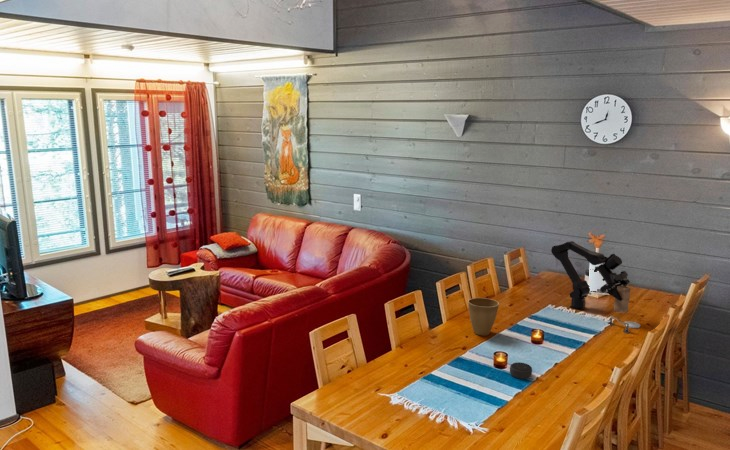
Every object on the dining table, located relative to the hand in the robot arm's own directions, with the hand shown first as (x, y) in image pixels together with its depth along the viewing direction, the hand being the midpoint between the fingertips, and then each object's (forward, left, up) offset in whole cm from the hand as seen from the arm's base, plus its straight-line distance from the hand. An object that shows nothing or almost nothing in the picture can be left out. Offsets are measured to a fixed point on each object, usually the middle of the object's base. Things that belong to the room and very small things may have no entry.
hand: (624, 299), depth 308 cm
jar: (-37, +46, -13) cm, 60 cm away
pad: (+5, -1, -12) cm, 14 cm away
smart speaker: (-5, -95, -13) cm, 96 cm away
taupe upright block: (-1, 0, -7) cm, 7 cm away
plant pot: (-43, -66, -13) cm, 80 cm away
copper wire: (+2, -10, -12) cm, 16 cm away
